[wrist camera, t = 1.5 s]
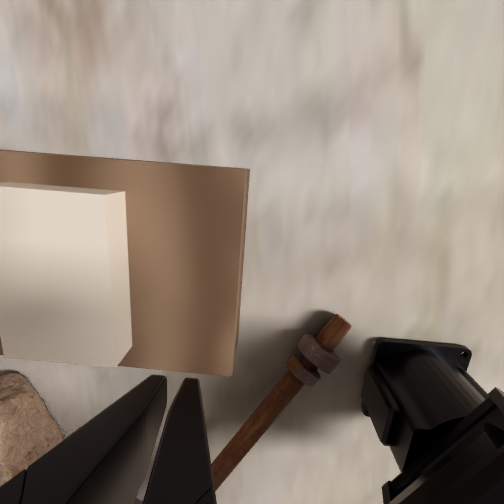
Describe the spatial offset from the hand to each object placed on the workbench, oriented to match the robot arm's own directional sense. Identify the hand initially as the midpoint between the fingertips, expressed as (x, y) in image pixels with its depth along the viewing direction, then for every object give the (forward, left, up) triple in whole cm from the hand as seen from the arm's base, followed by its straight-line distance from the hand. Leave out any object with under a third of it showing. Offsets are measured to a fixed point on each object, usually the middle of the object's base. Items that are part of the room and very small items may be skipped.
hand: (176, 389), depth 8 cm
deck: (+7, 0, -12) cm, 14 cm away
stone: (+16, +15, -12) cm, 26 cm away
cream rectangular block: (+8, 0, -8) cm, 11 cm away
